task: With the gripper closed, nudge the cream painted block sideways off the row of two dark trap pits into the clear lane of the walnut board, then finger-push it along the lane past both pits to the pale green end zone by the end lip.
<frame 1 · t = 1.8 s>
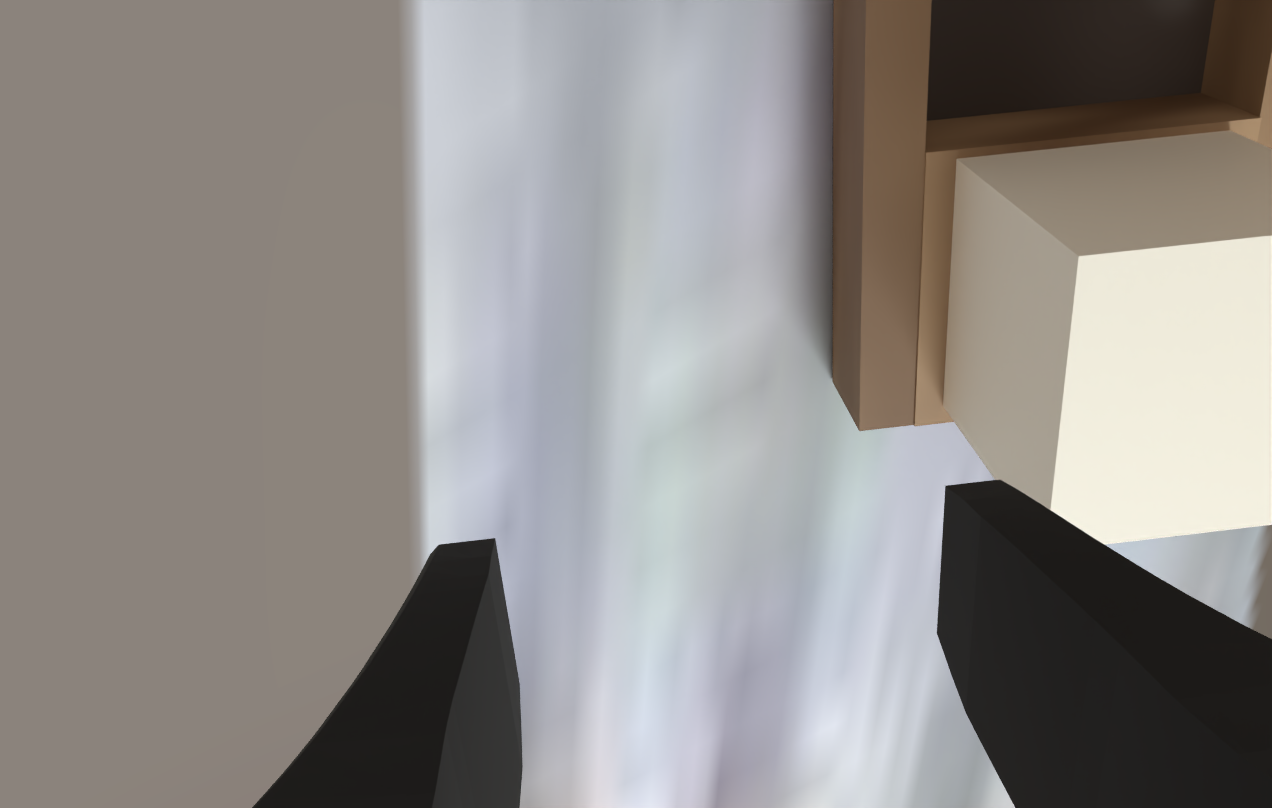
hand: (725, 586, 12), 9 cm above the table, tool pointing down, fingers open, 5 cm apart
cream block: (1079, 275, 19), point 2 cm above the table, touching trap board
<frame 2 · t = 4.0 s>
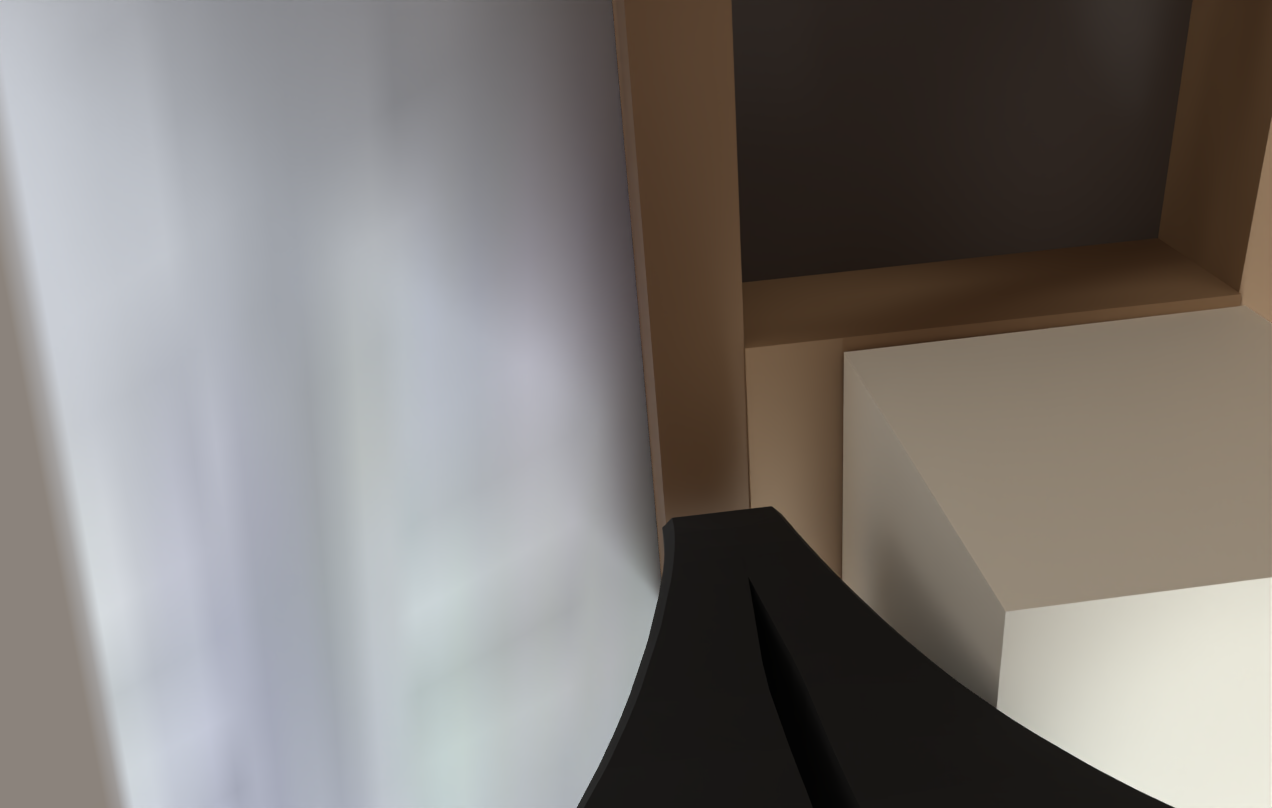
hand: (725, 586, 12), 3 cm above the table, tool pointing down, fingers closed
cream block: (1029, 501, 13), point 2 cm above the table, touching gripper
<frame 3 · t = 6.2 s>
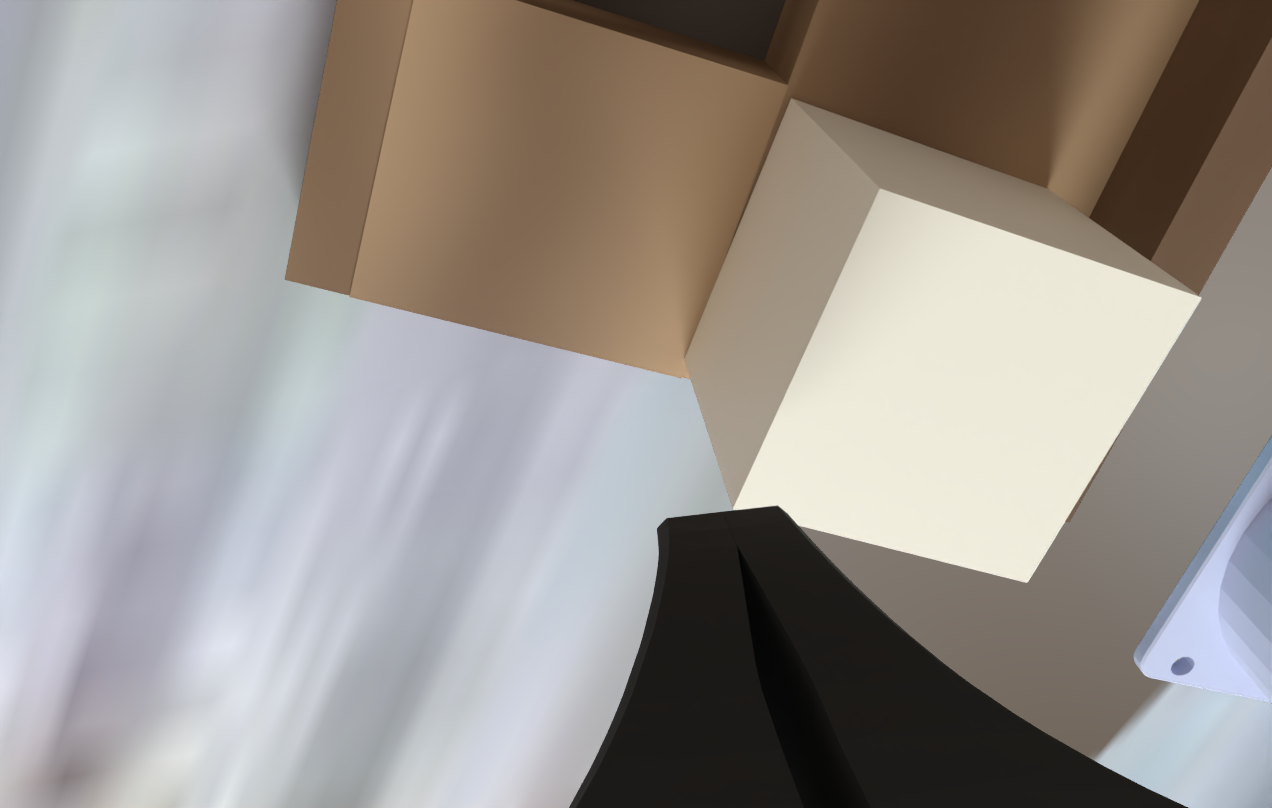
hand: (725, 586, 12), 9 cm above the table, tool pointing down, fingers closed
cream block: (862, 275, 18), point 2 cm above the table, touching trap board
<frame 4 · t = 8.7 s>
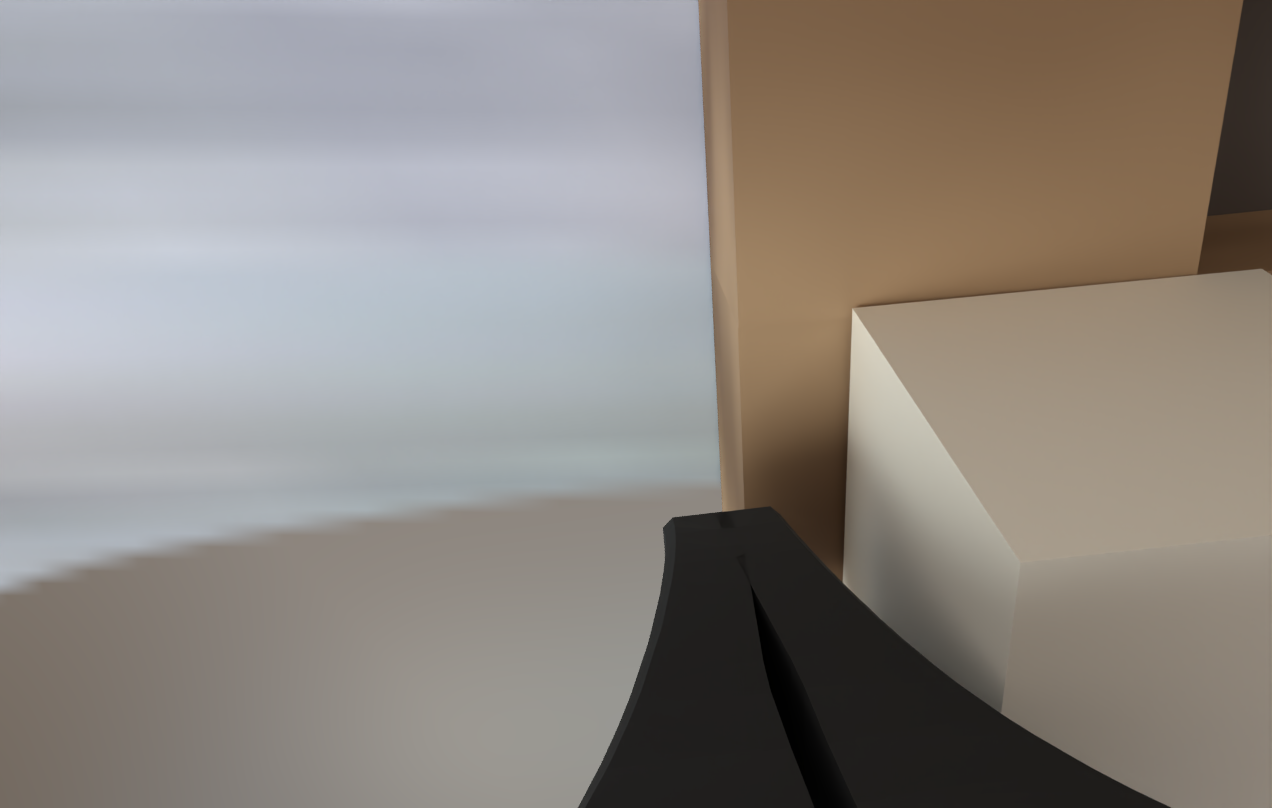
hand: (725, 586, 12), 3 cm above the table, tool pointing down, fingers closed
cream block: (1035, 466, 13), point 2 cm above the table, touching gripper, trap board
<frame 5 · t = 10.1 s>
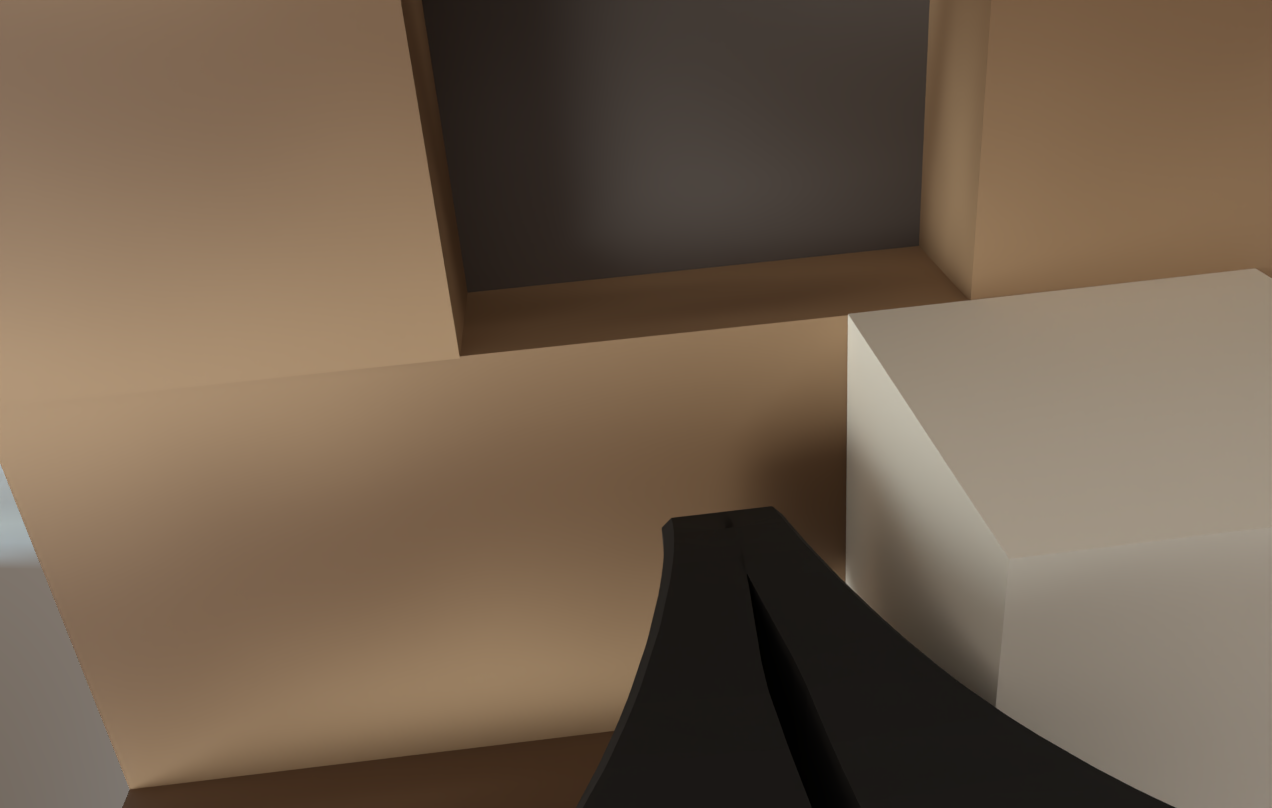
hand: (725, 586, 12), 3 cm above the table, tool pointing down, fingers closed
trap board: (1072, 224, 14), on the table
cream block: (1035, 468, 13), point 2 cm above the table, touching gripper, trap board
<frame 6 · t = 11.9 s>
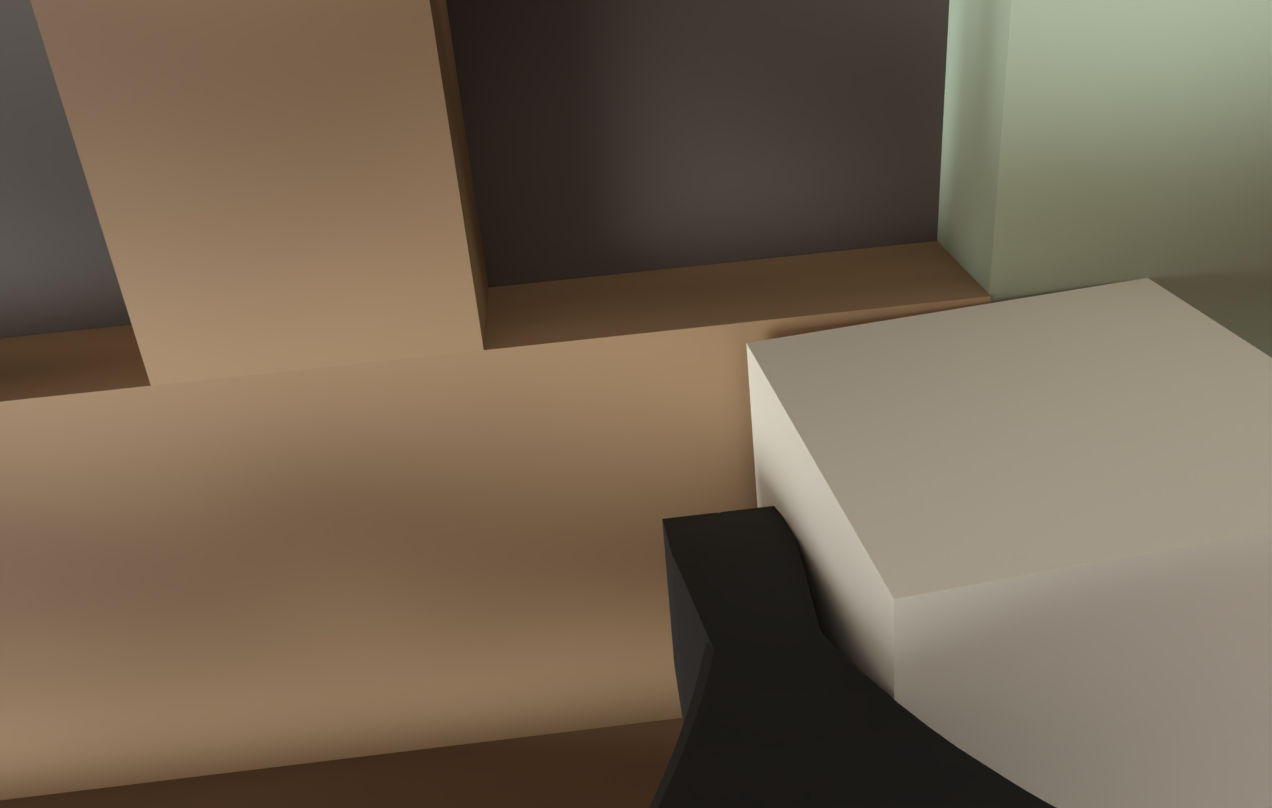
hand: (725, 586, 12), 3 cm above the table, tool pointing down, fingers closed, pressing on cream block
trap board: (365, 294, 14), on the table
cream block: (945, 485, 13), point 2 cm above the table, touching gripper, trap board
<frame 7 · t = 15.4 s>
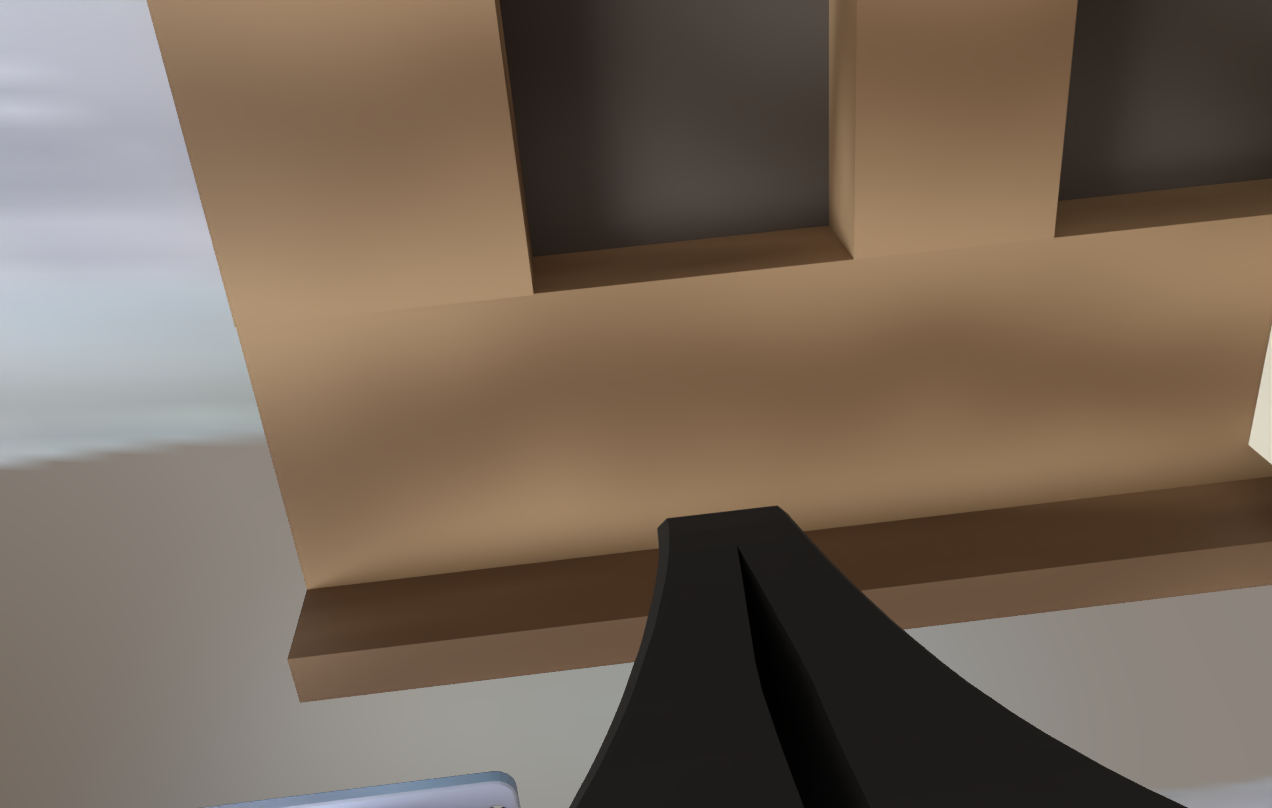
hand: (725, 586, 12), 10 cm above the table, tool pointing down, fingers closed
trap board: (931, 210, 21), on the table
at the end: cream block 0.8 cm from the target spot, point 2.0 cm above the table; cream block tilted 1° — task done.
